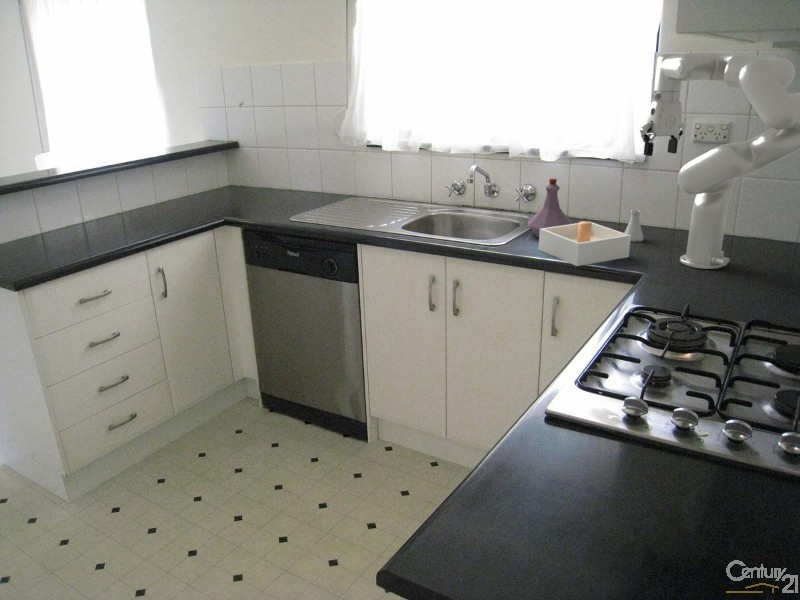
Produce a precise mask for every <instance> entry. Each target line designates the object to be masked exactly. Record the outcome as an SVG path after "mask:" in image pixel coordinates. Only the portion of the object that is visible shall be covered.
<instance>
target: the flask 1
mask: <svg viewBox="0 0 800 600" xmlns="http://www.w3.org/2000/svg"><path fill="white" fill-rule="evenodd" d="M557 180H558V179H557V178H549V181H548V182H549V183H548V184H547V185H545V190H546V196H545V199H544V202H543V206H542V207H541V208H540V209H539V210H538V212H536V213H535V214H534V215H533V216H532V217H531V218H530V219H529V220H528V221H527V224H528V227H529V229H530V230H531V231H532V232H533V233H534V235H535V236H536V238H539V232H540V229H542V228H549V227H555V226H562V225H569V224H573V222H572V221H571V219H569V217H568V216H567V215H566V214H565V213H564V212H563V210H562V209H561V207H560V203H559V198H558V194H559V193H558V192H559V190H560V186H559V185H558V184H557Z"/></svg>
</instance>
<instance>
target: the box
mask: <svg viewBox="0 0 800 600" xmlns="http://www.w3.org/2000/svg"><path fill="white" fill-rule="evenodd" d="M590 222H591V223H592V225H591V238H590V241H587V242H581V243H579V242H577V238H578V224H579V222H577V223H576V222H575V223H572V224H569V225H562V226H555V227H549V228H542V229H540V232H539V237H538V250H539V251H541V252H543V253H545V254H548V255H550V256H552V257H554V258H558V260H559V259H560V260H561V261H564V262H566V263H568V264H571V265H573V266H575V267H580V266H585V265H586V266H587V265H590V264H592V265H593V264H597V263H602V262H608V261H612V260H614V261H615V260H619V259H625V258H629V257H630V249H631V241H630V240H631V235H628V234H625V232H622V231H618V230H615V229H613V228H611V227H606V226H605V225H600V224H598V223H594V222H592V221H590Z"/></svg>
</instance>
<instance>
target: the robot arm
mask: <svg viewBox="0 0 800 600" xmlns="http://www.w3.org/2000/svg"><path fill="white" fill-rule="evenodd" d="M656 61H657V62H656V68H655V69H656V71H655V78H654V80H655V81H654V88H653V93H652V96H651V98H652V102H651V104H650V107H649V111H648V116H647V121H646V124H644V125H643V126H641V127H640V128H639V133H640V136H641V139H642V142H644V146H643V147H644V149H643V155H644V156H648V157H652V156H653V155H654V154H653V153H654V140H655V139H656V137H667V136H668V137H669V139H668V145H667V153H669V154H677V153H678V151H677V150H678V144H679V141H680V139H681V137H682V135H684V134H683V133H684V131H685V129H686V127H687V125H686V124H685V123H683V122H682V119H683V117H682V116H683V108H682V101H680V100H681V99H680V98H681V89H682V82H689V81H701V80H702V81H704V80H705V81H706V80H707V81H718V82H719V81H720V82H725V85H727V86H728V87H730V88H736V89H742V91H743V93H744V95H745V96H746V98H747V99H748V101H749V103H750V104H751V106H752V107H753V109H754V110H755V111H756V113H757V115H758V116H759V118H760V119H761V120H762V122H763V123H764V124H766V126H768V127H770V129H767V130H766V131H764V132H762V133H760V134H758V135H756V136H755V137H751V138H749V139H746V140H743V141H737V142H732V143H731V142H730V143H725V144H724V143H723V144H721V145H719V146H715V147H714V148H712V149H709V151H706V152H704V153H703V154H700V155H698V156H697V157H695V158H693V159H691V160H690V161H688V162H687V163H685V164H684V165H683V166H682V167H681V169H680V170H679V172H678V174H677V184H678V187H679V189H680V190H681V191H682V192H684V193H685V194H689V195H691V196H692V195H695V197H694V200H693V204H692V209H691V215H690V224H689V229H688V238H687V239H688V240H687V245H686V253H685V254H683V255H681V256H680V257H679V262H680V263H681V264H683V266H687V267H691V268H696V269H704V270H714V269H715V270H716V269H720V268H724V267H725V266H728V263H730V261H731V259H730V258H729V257H726V256H724V255H725V251H724V250H722V248H723V241H724V237H725V236H724V235H725V229H726V222H727V216H728V210H729V204H730V199H731V195H732V193H733V189H734V187H735V183H736V180H737V179H739V178H742V177H748V176H751V175H753V174H755V173H757V172H759V171H761V170H762V169H765V168H766V167H769V166H771V165H772V164H774V163H776V162H779V161H780V160H782V159H784V158H787V157H789V156H791V155H793V154H795V153H796V152H798V151H800V92H787V91H786V88H787V87H789V86H790V84H791V83H792V82H793V80H794V78H795V75H796V69H795V66H794V64H793V63H792V61H790V60H789V59H787V58H784V57H780V56H779V57H778V56H766V55H750V54H739V53H738V54H732V53H719V52H691V53H689V52H687V53H663V54H660V55H659V56H658V57H657V60H656Z"/></svg>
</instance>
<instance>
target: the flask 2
mask: <svg viewBox="0 0 800 600" xmlns="http://www.w3.org/2000/svg"><path fill="white" fill-rule="evenodd" d="M641 212H642V211H641V210H638V209H631V210H630V213H631V214H630V215H631V216H630V220H629V222H628V224H627V227H626V229H625V230H624V233H625V234H628V235H631V240H630V242H635V243H636V242H643V241H644V240H645V238H644V234H643V231H642V227H641V223H640V214H641Z"/></svg>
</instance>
